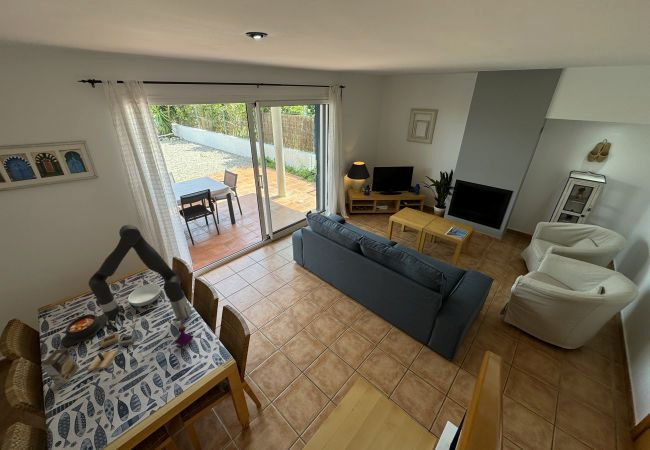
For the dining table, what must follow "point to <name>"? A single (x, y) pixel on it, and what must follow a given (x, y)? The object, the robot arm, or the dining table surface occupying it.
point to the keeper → (103, 360)
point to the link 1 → (110, 340)
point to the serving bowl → (144, 295)
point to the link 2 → (127, 340)
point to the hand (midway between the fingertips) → (119, 325)
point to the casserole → (83, 328)
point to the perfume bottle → (183, 335)
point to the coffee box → (60, 366)
